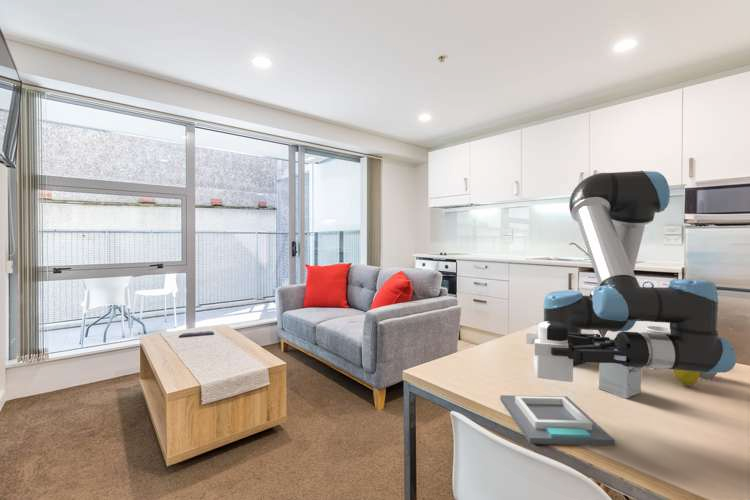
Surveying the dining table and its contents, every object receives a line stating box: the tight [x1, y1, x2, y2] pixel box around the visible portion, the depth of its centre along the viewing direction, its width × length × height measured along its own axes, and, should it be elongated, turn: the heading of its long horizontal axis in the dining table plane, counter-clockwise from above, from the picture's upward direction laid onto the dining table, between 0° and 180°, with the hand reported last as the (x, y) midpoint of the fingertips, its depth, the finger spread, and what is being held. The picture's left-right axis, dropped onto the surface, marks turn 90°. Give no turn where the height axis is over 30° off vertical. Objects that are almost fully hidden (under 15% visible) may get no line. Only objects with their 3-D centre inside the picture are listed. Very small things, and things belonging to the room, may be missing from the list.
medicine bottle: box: [533, 321, 574, 383], centre depth 79 cm, size 7×7×12 cm
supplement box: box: [598, 363, 643, 400], centre depth 94 cm, size 7×7×13 cm
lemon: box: [673, 370, 700, 387], centre depth 98 cm, size 6×6×8 cm
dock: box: [499, 394, 616, 446], centre depth 80 cm, size 19×17×3 cm
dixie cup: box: [645, 325, 671, 334], centre depth 121 cm, size 8×8×10 cm
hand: (530, 343), depth 80 cm, fingers closed on medicine bottle, 8 cm apart
